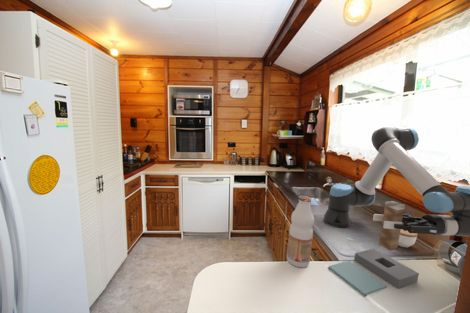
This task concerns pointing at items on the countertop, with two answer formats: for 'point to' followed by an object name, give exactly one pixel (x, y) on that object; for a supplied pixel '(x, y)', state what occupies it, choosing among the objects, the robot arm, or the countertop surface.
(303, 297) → the countertop surface
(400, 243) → the lidded jar
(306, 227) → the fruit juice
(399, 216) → the walnut plug
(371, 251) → the block
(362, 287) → the pad
